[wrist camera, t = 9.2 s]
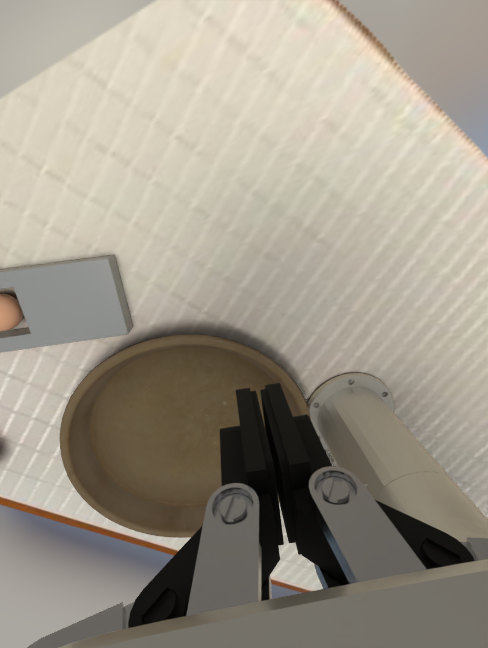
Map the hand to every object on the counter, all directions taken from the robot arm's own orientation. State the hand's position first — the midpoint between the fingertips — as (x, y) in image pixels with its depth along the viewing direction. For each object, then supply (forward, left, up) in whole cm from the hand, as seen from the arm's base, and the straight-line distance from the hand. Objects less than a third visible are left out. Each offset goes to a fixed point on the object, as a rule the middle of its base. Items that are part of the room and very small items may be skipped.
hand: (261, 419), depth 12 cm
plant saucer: (-21, +7, -27) cm, 35 cm away
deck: (-1, +20, -27) cm, 33 cm away
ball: (-1, +24, -25) cm, 35 cm away
